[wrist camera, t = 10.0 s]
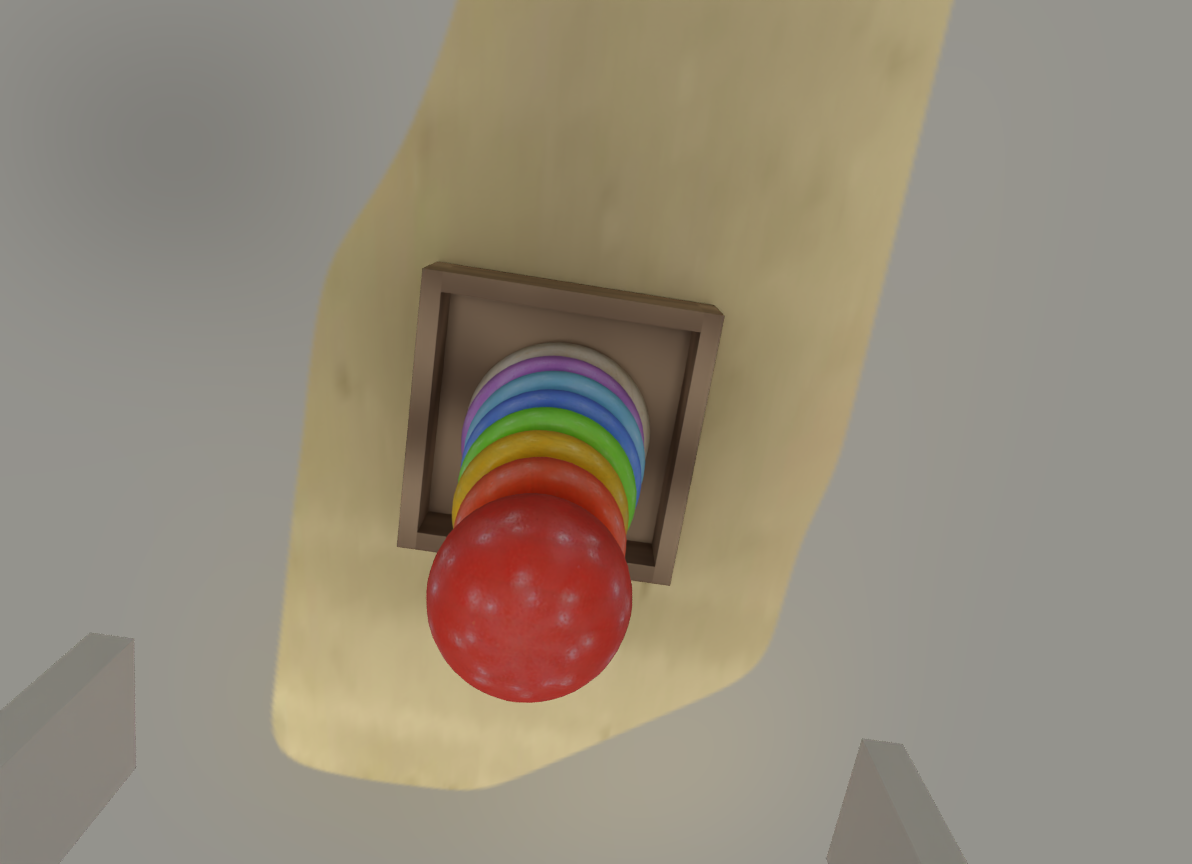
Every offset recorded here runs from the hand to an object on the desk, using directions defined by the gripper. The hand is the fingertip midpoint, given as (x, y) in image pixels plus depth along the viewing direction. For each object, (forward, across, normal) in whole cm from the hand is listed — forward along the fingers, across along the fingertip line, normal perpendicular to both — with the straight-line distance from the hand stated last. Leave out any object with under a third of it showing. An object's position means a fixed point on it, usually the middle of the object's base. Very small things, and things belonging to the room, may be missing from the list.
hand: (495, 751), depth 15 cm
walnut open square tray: (+22, 0, 0) cm, 23 cm away
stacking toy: (+22, 0, 0) cm, 22 cm away
